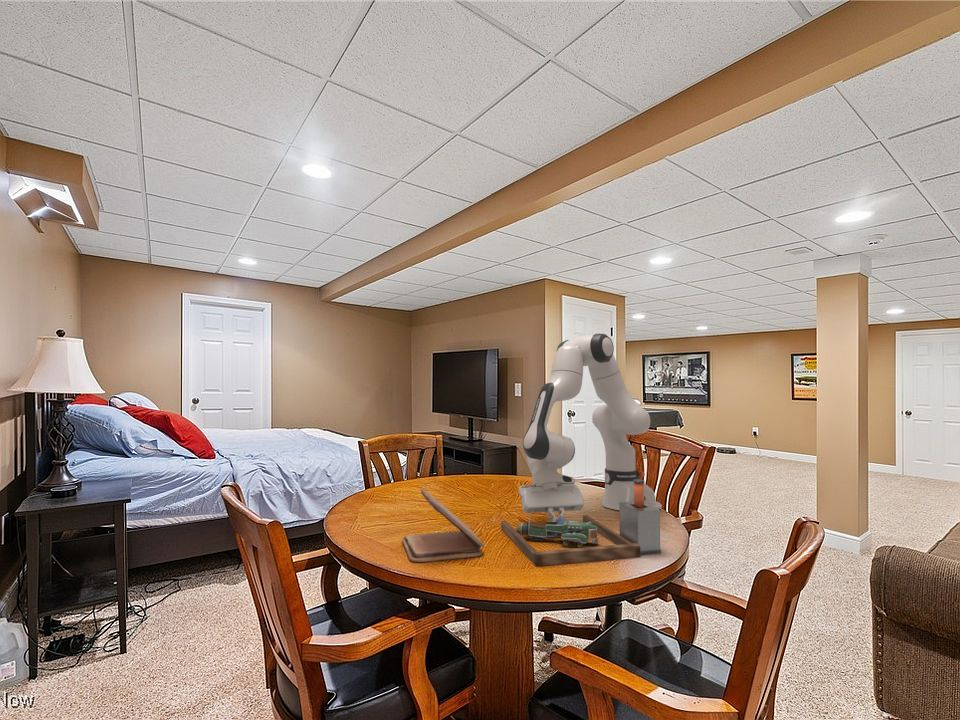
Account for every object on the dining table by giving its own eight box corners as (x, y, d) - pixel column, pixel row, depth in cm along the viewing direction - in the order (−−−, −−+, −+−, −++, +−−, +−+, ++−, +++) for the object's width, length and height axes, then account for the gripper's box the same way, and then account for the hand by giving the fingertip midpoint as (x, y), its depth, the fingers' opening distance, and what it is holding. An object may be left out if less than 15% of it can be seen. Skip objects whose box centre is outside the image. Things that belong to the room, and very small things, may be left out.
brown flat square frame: (586, 522, 164) (586, 513, 165) (640, 556, 133) (640, 545, 133) (501, 528, 157) (501, 519, 157) (536, 566, 126) (536, 554, 126)
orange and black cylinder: (640, 504, 143) (640, 479, 143) (647, 507, 139) (646, 481, 140) (631, 505, 142) (630, 479, 142) (637, 508, 139) (637, 481, 139)
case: (486, 557, 132) (487, 498, 133) (410, 565, 126) (411, 503, 127) (467, 535, 152) (468, 483, 153) (400, 540, 146) (401, 487, 147)
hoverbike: (598, 551, 137) (598, 522, 138) (512, 544, 143) (512, 515, 144) (598, 540, 147) (598, 513, 147) (517, 534, 153) (517, 507, 153)
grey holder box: (640, 541, 146) (640, 500, 146) (660, 552, 136) (660, 509, 137) (619, 542, 144) (618, 502, 145) (638, 554, 134) (637, 511, 135)
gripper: (519, 479, 154) (529, 519, 144) (578, 477, 159) (592, 515, 149) (515, 490, 158) (524, 530, 148) (572, 488, 163) (585, 526, 153)
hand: (559, 522), depth 149 cm, fingers closed
